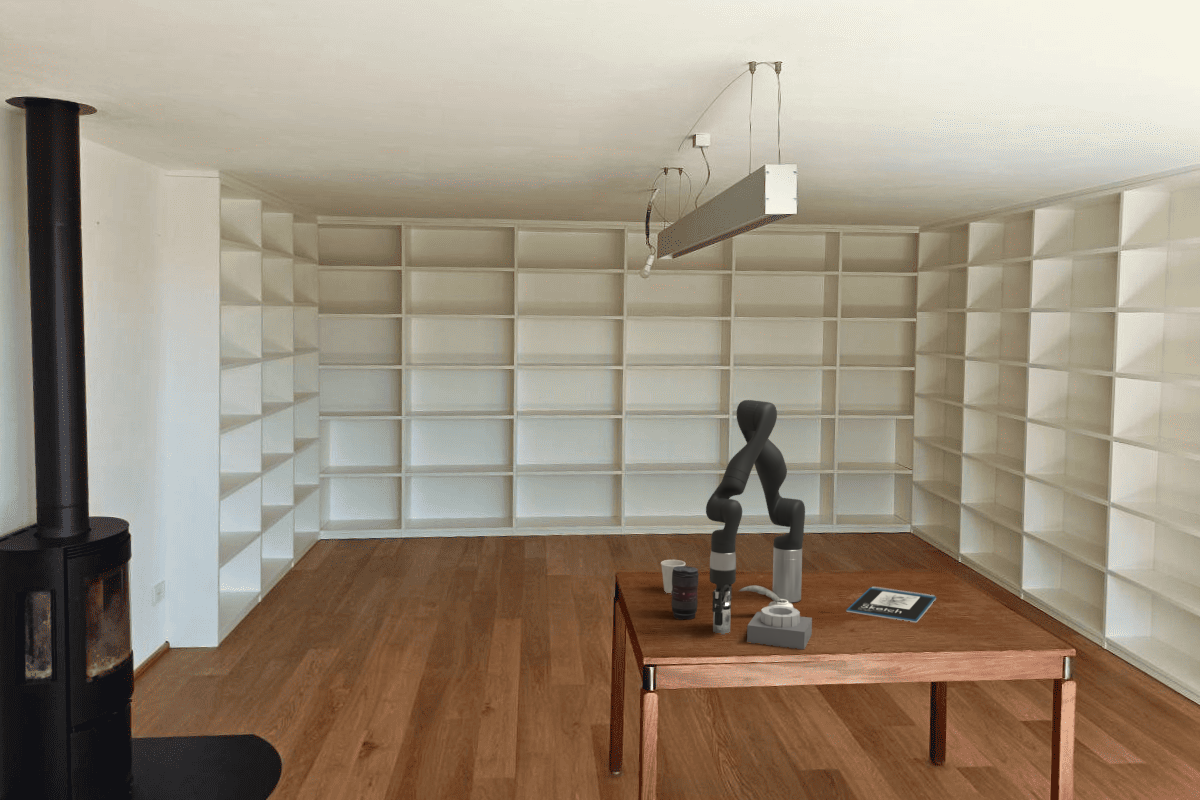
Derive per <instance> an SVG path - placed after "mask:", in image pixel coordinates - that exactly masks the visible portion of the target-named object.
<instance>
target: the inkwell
mask: <svg viewBox="0 0 1200 800" xmlns="http://www.w3.org/2000/svg"><path fill="white" fill-rule="evenodd" d="M738 592H752V593H757V594H759V595H765V596H766V597H768V598H770V599H771V600H772V601H770V602H769V603H768V605H767V607H768V606H786V607H791V608H794V605H793V603H792V602H788V601H787V600H785V599H780V598H779V597H778V596H777V595H776V594H774V593H773V590H770V589H768V588H767V587H764V586H760V585H755V584H754V585H747V586H745V587H744V586H743V587H742V588H740V589H739V590H738Z"/></svg>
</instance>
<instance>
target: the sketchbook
mask: <svg viewBox="0 0 1200 800" xmlns="http://www.w3.org/2000/svg"><path fill="white" fill-rule="evenodd" d="M936 600H937V596H935V594H931V595H930V593H929V594H927V593H922V592H920V593H919V592H914V591H909V590H907V591H906V590H900V589H899V590H898V589H893V588H887V587H880V586H877V587H876V586H875V585H874V586H872V587H869V588H868V589H867V590H866V591H865V592H864V593H862V595H861V596H860V597H858V598H857V599H856V600H855V601H854V602H853V603H852V604H851V605H850V606H849V607H848V608H846V609H845V611H846V612H847V613H851V614H852V613H854V614H857V615H866V616H871V617H878V618H883V619H890V620H896V619H897V621H902V620H904V621H903V622H908V621H910V622H909V623H914V624H917V623H918V621H919V620H920V619H922V617H923V616H924V615H925V613H926V612H927V611H928V610H929V609H930V607H932V605H933V604H934V603H935V602H936ZM934 601H935V602H934ZM933 602H934V603H933Z"/></svg>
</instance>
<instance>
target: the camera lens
mask: <svg viewBox="0 0 1200 800" xmlns="http://www.w3.org/2000/svg"><path fill="white" fill-rule="evenodd" d="M698 587H699V569H698V568H696V567H695V566H688V565H685V566H677V567H674V568H673V571H672V592H671V594H670V595H671V611H672V613H673V617H674V618H675V619H677V618H678V619H677V620H683V619H687V620H692V619H694V618H695V617H696V613H697V612H698V610H697V609H698Z"/></svg>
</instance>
